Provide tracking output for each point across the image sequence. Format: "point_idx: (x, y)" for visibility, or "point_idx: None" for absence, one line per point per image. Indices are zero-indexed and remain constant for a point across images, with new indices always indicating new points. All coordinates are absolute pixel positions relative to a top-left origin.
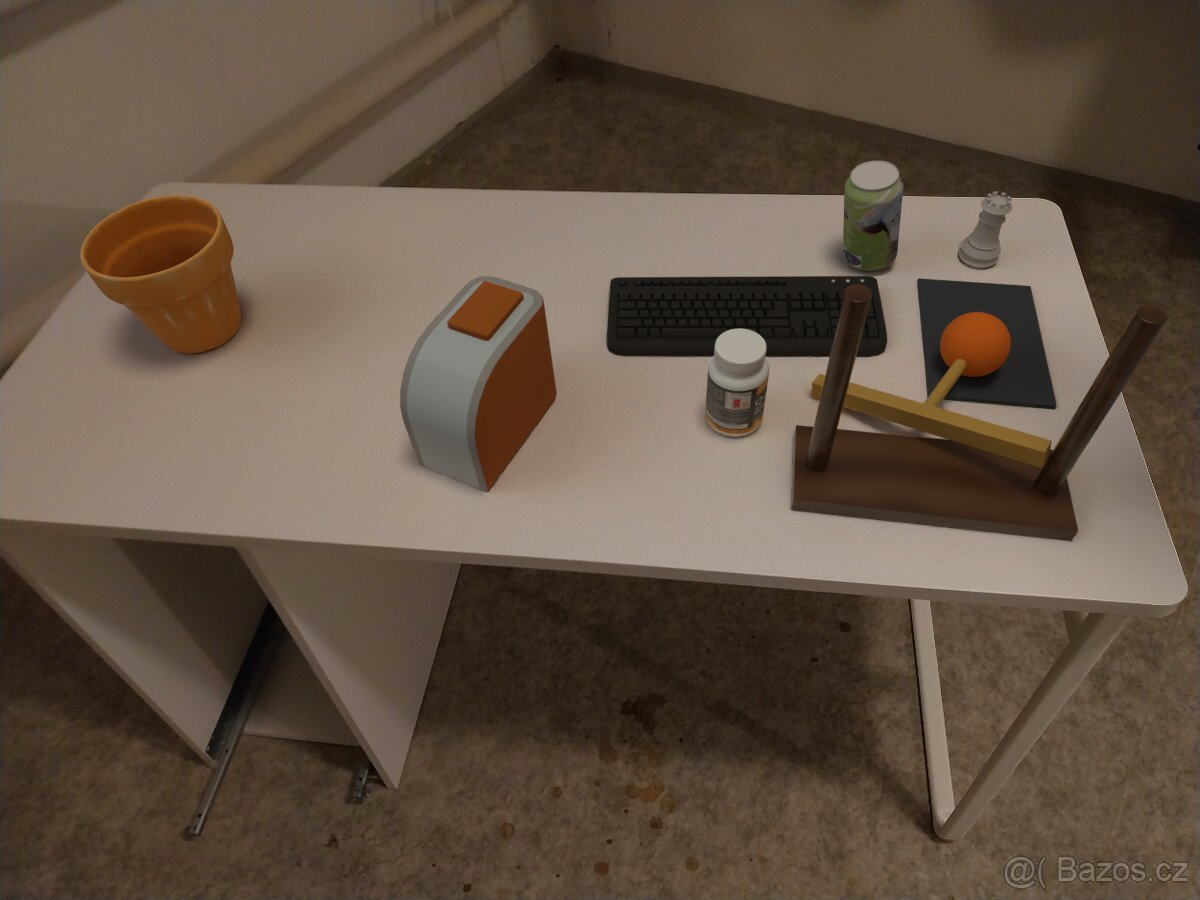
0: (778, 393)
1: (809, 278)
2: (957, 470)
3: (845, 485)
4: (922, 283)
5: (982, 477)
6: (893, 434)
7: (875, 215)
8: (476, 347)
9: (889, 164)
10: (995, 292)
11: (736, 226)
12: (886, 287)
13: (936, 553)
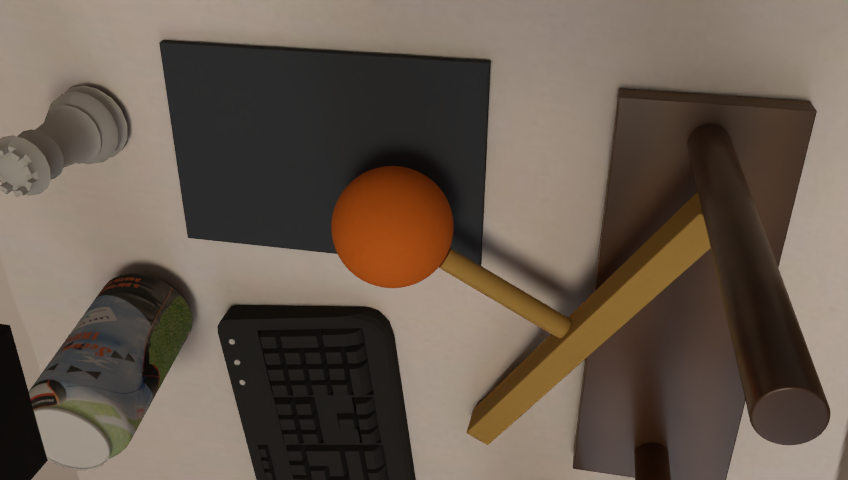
0: (489, 459)
1: (244, 414)
2: None
3: (696, 426)
4: (200, 233)
5: None
6: None
7: (140, 402)
8: None
9: None
10: (194, 112)
11: (126, 468)
12: (218, 283)
13: (817, 308)
